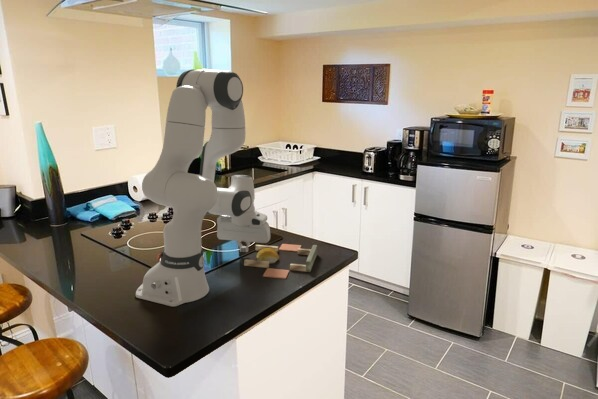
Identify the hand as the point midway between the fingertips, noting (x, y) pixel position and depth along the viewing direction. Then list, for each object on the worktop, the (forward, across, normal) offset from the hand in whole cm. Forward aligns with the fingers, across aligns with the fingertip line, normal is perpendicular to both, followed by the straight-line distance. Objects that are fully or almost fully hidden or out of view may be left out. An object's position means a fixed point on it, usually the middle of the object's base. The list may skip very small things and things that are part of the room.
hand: (244, 251), depth 159 cm
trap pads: (+2, +15, 0) cm, 15 cm away
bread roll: (+3, +10, 0) cm, 10 cm away
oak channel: (+2, +15, 0) cm, 15 cm away
